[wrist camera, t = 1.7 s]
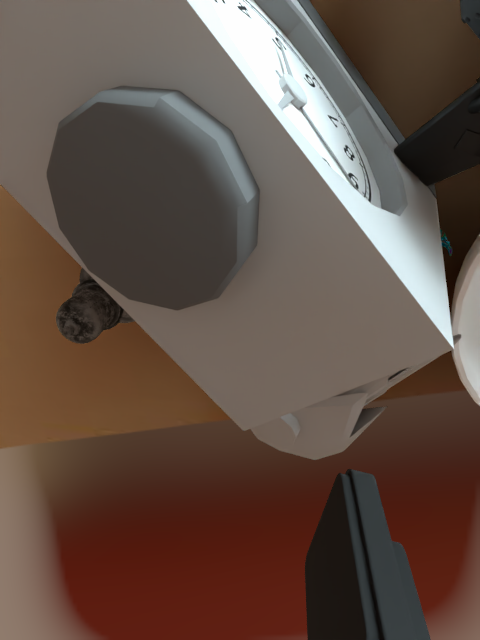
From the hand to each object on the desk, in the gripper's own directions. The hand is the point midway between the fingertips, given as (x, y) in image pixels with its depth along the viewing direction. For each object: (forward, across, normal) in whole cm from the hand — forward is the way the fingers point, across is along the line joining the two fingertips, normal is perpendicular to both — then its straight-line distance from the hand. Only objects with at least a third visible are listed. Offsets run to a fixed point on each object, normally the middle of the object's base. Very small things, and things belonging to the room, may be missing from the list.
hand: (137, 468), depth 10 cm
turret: (+19, -8, +9) cm, 22 cm away
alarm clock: (+26, +1, -7) cm, 27 cm away
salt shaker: (+26, +8, +5) cm, 28 cm away
